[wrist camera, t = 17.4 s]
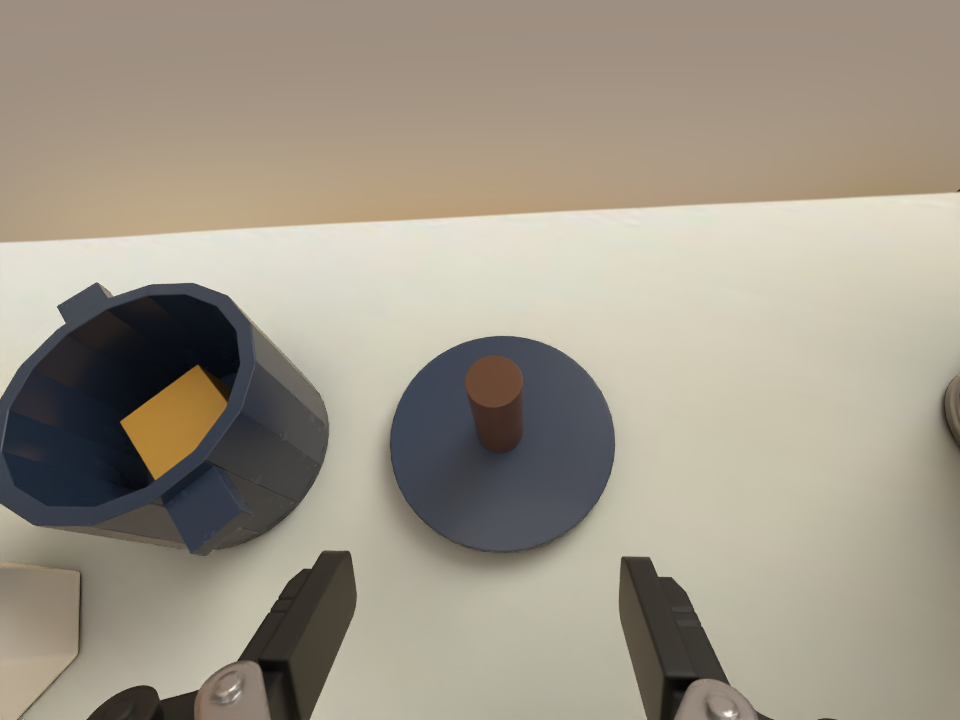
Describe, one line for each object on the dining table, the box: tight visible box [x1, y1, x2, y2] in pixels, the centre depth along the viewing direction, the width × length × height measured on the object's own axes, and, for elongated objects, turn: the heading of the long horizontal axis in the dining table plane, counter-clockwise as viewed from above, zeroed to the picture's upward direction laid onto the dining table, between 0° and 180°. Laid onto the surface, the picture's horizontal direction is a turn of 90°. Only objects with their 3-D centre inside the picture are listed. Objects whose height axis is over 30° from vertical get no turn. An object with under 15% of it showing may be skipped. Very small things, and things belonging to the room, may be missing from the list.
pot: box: [0, 283, 329, 556], centre depth 25 cm, size 13×18×10 cm
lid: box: [390, 336, 615, 553], centre depth 25 cm, size 14×14×8 cm
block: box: [120, 365, 232, 480], centre depth 27 cm, size 5×5×5 cm
